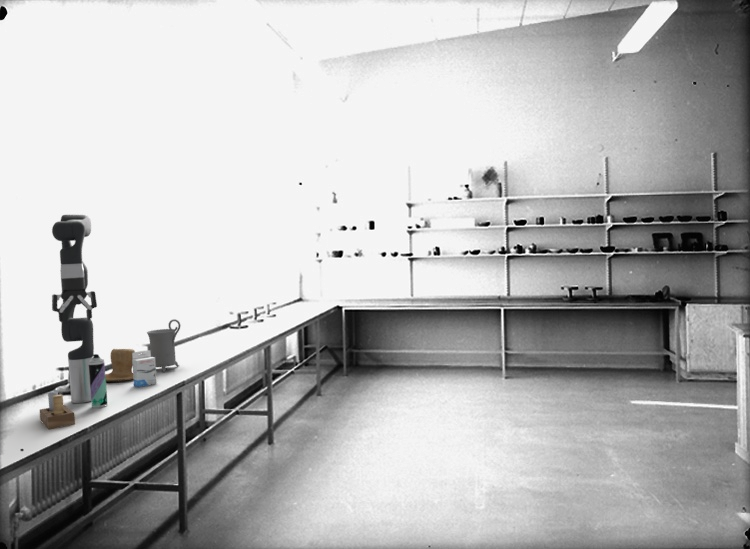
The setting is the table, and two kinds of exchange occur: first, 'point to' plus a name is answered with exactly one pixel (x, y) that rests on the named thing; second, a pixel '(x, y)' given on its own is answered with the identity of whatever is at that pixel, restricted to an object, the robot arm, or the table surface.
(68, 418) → the walnut block
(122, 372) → the tan ankle boot
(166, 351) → the mug
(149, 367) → the ink box
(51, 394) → the grey peg
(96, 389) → the spray can
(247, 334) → the table surface
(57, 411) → the oak peg
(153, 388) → the table surface
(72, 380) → the robot arm
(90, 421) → the table surface
